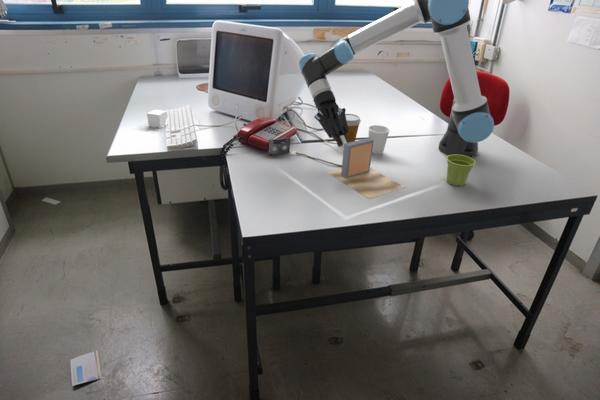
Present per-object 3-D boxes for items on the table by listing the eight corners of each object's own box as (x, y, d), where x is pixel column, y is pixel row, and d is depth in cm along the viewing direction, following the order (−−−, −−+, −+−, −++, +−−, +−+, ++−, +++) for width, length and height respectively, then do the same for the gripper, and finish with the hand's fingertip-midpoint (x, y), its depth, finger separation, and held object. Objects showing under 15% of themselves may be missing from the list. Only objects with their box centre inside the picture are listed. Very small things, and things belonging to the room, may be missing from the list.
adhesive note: (160, 128, 178) (158, 115, 175) (148, 126, 179) (146, 113, 176) (168, 124, 183) (166, 111, 180) (156, 122, 184) (154, 109, 181)
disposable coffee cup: (343, 139, 174) (345, 111, 168) (362, 145, 169) (365, 117, 163) (330, 145, 168) (332, 116, 162) (349, 151, 163) (352, 122, 157)
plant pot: (436, 181, 143) (441, 158, 138) (449, 173, 148) (454, 151, 144) (461, 191, 137) (467, 168, 133) (474, 183, 143) (480, 160, 138)
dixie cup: (389, 151, 164) (393, 127, 159) (381, 158, 158) (385, 134, 153) (369, 146, 168) (372, 123, 163) (361, 153, 162) (364, 129, 157)
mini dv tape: (288, 151, 161) (288, 136, 158) (289, 152, 160) (289, 138, 157) (268, 153, 158) (268, 138, 155) (269, 154, 157) (269, 140, 154)
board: (326, 174, 144) (326, 172, 144) (361, 164, 152) (361, 162, 152) (368, 201, 129) (369, 199, 128) (404, 189, 137) (404, 187, 136)
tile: (341, 175, 142) (344, 143, 136) (364, 169, 147) (368, 137, 141) (345, 178, 140) (349, 146, 134) (369, 171, 145) (374, 140, 139)
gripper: (331, 97, 155) (355, 154, 151) (303, 102, 148) (327, 161, 145) (341, 87, 148) (366, 145, 145) (312, 91, 142) (338, 152, 138)
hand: (347, 153), depth 145 cm, fingers closed
